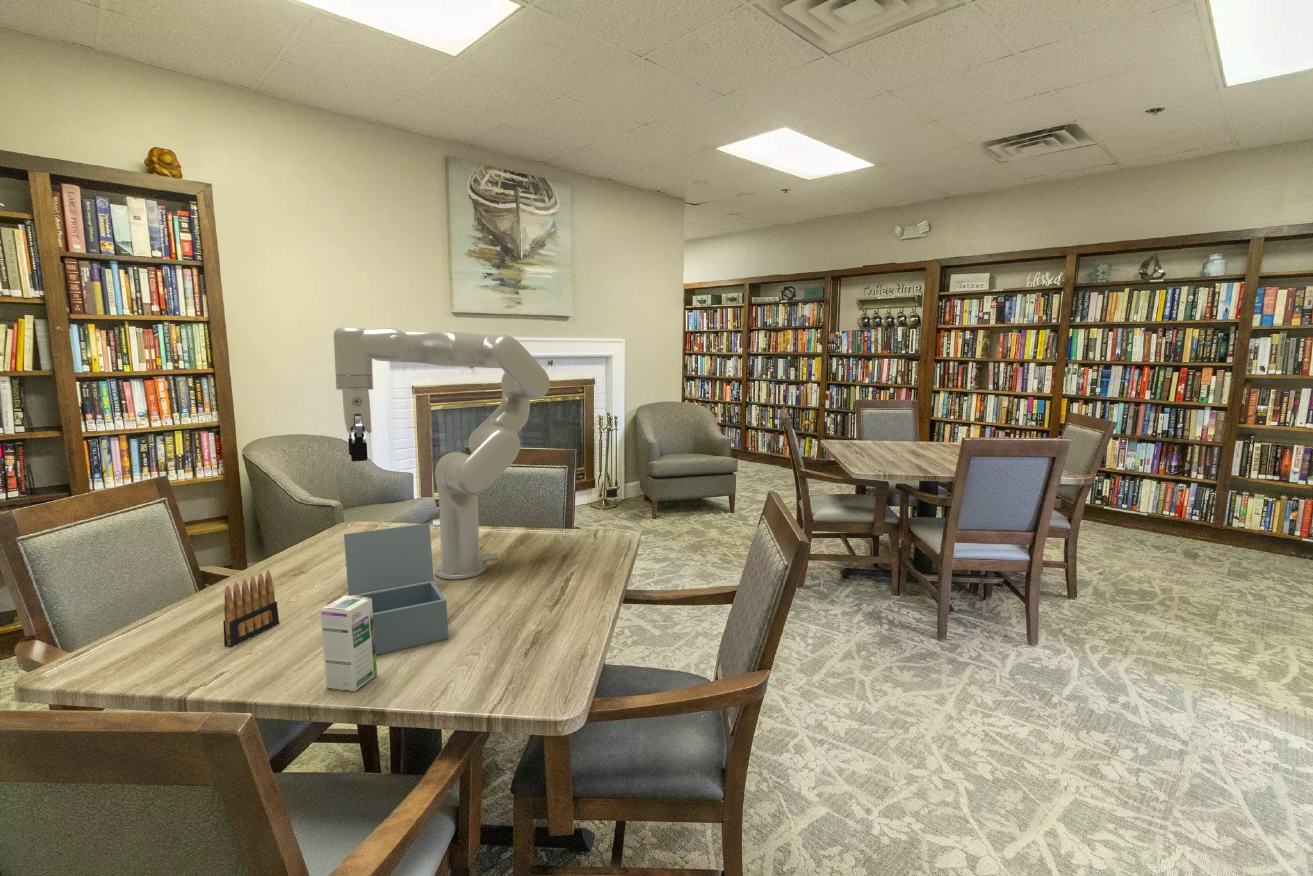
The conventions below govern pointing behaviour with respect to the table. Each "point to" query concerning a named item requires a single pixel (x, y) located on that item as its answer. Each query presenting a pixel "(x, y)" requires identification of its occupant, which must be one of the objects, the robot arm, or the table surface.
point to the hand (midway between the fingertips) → (358, 457)
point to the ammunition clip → (249, 610)
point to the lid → (388, 558)
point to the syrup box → (348, 642)
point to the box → (408, 616)
